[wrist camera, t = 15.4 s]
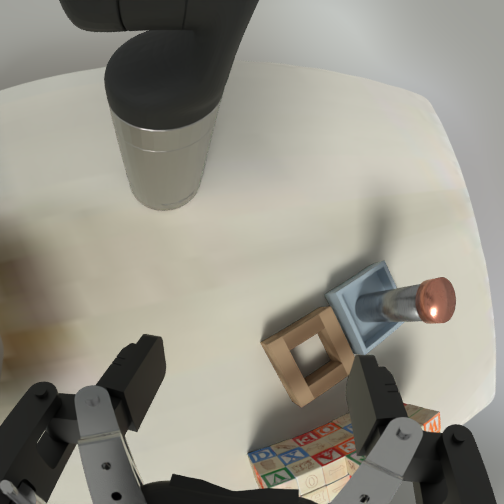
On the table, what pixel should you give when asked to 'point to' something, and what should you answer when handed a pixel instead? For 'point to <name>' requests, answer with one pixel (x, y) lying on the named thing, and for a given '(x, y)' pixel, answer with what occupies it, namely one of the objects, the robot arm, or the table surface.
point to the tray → (343, 306)
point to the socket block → (297, 333)
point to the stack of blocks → (321, 457)
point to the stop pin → (409, 303)
